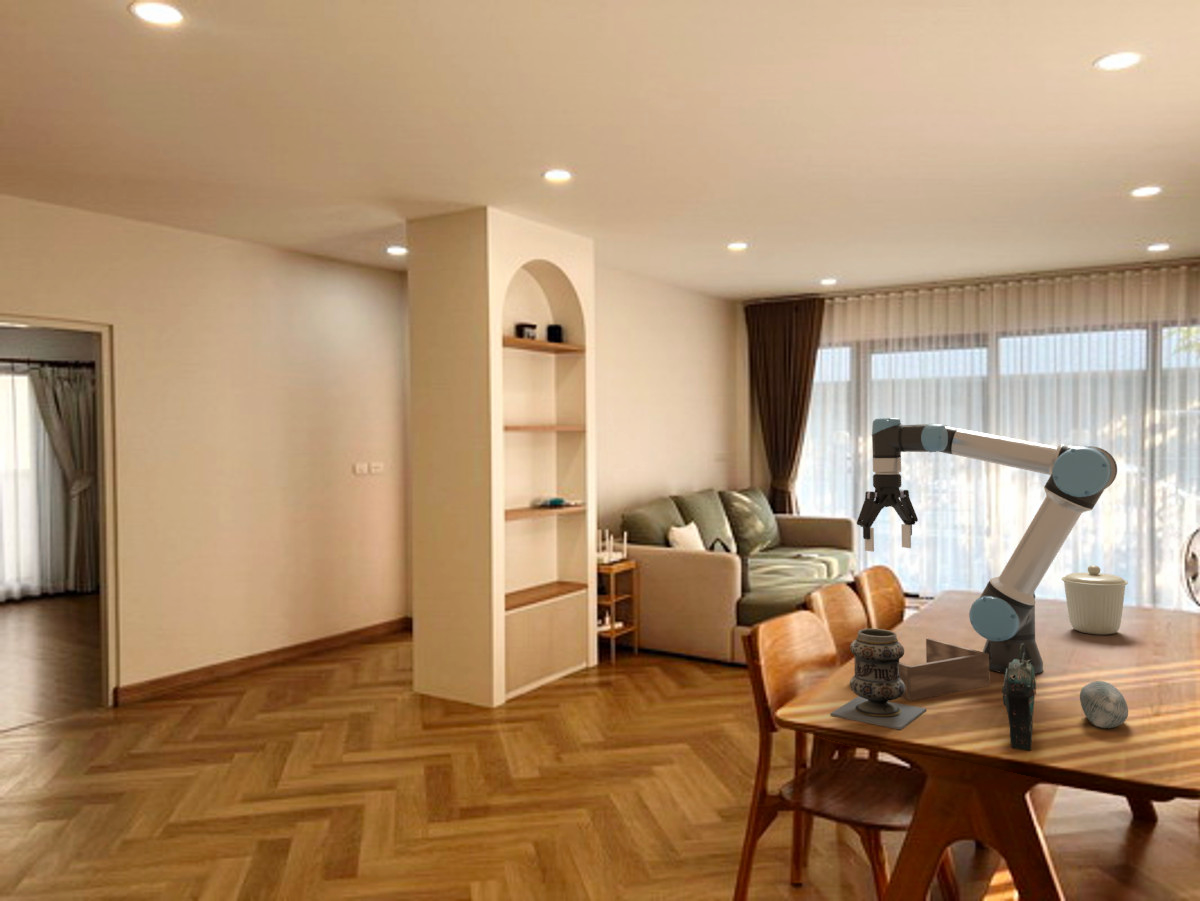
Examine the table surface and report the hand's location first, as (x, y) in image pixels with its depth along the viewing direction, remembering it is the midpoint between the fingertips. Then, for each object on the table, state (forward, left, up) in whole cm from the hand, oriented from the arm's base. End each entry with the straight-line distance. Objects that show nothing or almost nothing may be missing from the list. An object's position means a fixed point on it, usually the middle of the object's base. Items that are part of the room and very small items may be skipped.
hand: (888, 549), depth 232 cm
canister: (-38, -74, -32) cm, 89 cm away
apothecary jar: (-14, +44, -31) cm, 56 cm away
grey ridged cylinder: (-55, +21, -32) cm, 67 cm away
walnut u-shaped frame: (-14, +15, -32) cm, 38 cm away
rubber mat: (-14, +44, -32) cm, 56 cm away
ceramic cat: (-43, +41, -32) cm, 67 cm away
